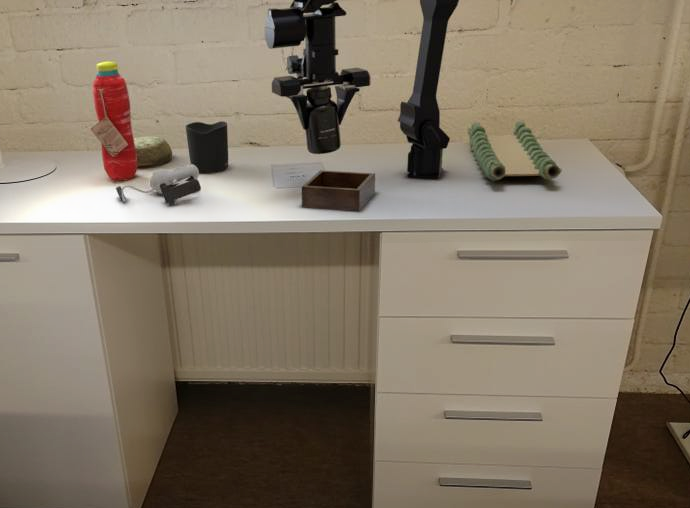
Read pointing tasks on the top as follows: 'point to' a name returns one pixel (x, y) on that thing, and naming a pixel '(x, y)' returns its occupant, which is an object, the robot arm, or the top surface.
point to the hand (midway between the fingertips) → (321, 127)
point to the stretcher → (511, 154)
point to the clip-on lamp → (171, 183)
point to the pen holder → (208, 146)
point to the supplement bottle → (322, 121)
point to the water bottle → (114, 122)
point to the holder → (338, 190)
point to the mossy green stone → (152, 151)
